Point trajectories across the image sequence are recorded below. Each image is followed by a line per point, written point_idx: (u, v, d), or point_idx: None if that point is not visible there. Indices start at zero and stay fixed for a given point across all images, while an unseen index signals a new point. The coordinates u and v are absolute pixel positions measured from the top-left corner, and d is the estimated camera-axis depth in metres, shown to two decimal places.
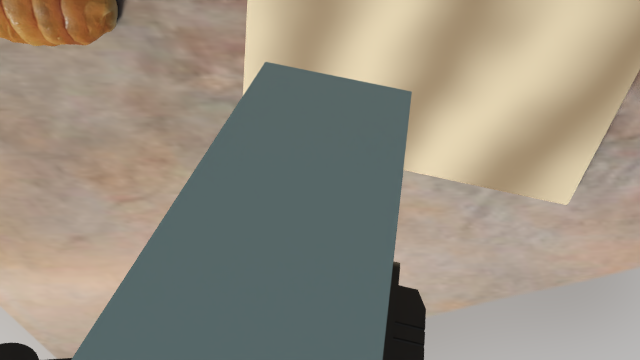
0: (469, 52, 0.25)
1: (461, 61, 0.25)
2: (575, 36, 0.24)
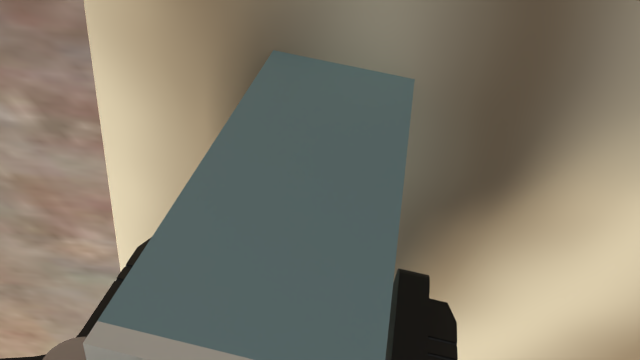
0: (486, 251, 0.14)
1: (472, 262, 0.15)
2: None
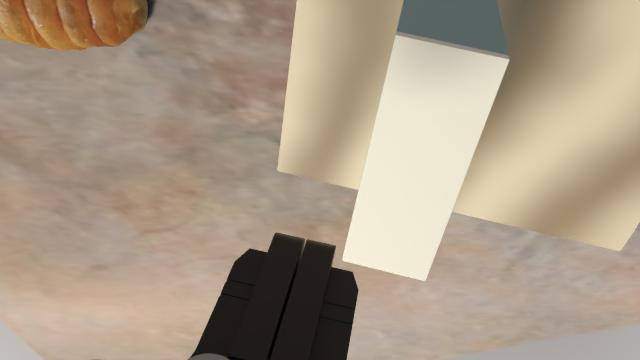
0: (526, 95, 0.24)
1: (517, 103, 0.24)
2: None
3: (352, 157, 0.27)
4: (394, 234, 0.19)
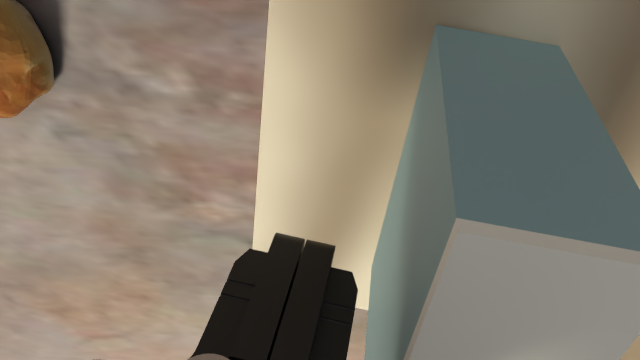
0: None
1: None
2: None
3: (351, 271, 0.20)
4: None
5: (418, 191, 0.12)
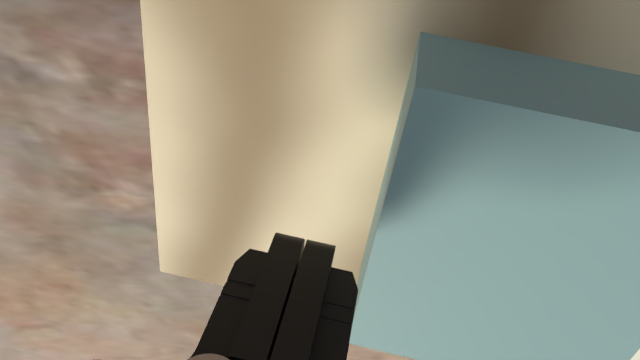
0: None
1: None
2: None
3: None
4: None
5: (578, 207, 0.12)
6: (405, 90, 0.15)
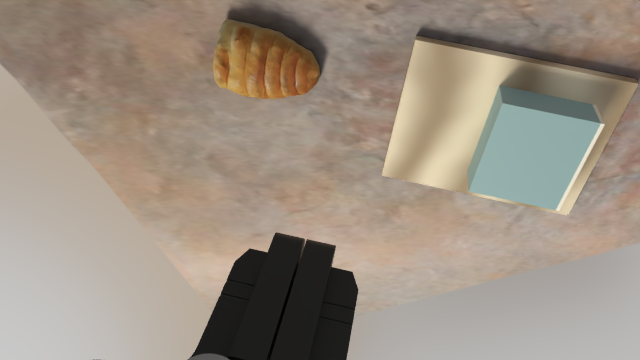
0: None
1: None
2: None
3: (424, 167, 0.51)
4: None
5: (547, 137, 0.44)
6: None
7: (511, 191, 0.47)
